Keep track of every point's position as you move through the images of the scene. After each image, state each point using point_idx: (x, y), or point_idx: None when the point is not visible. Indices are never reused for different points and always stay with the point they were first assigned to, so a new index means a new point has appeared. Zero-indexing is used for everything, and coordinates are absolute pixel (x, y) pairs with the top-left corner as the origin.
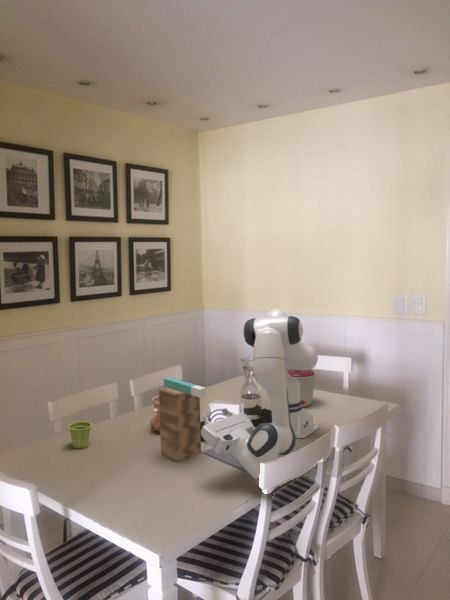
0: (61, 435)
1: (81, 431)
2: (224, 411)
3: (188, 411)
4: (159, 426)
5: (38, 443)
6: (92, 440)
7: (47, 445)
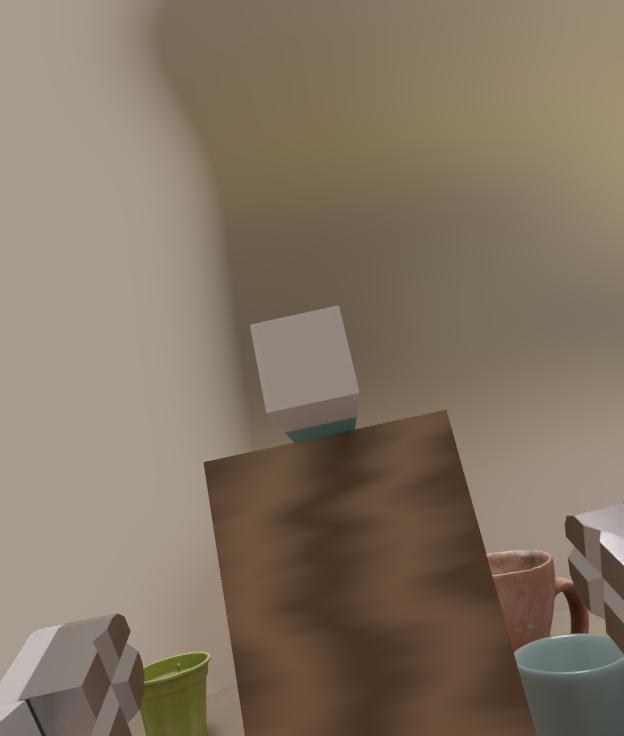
0: (212, 695)
1: (145, 691)
2: (602, 569)
3: (367, 605)
4: None
5: (134, 716)
6: (237, 731)
7: (132, 728)
